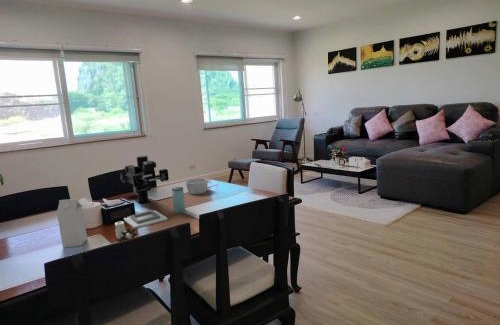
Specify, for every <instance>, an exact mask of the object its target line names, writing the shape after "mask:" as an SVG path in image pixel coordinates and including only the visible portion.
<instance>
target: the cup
mask: <svg viewBox="0 0 500 325" xmlns="http://www.w3.org/2000/svg"><path fill="white" fill-rule="evenodd" d="M171 194H172V202H173V212H174V213H175V214H181V213H184V212H186V202H185V195H184V187H183V186H176V187H172V188H171Z"/></svg>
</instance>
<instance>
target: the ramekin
mask: <svg viewBox="0 0 500 325" xmlns="http://www.w3.org/2000/svg"><path fill="white" fill-rule="evenodd" d="M185 185H186V189H187V192H188V194H191V195H200V194H204V193H206V192H207V191H208V179H207V178H194V179H189V180H187V181H185Z"/></svg>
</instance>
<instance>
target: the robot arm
mask: <svg viewBox="0 0 500 325" xmlns="http://www.w3.org/2000/svg"><path fill="white" fill-rule="evenodd" d="M136 163H137V164H136V166H135V165H133V164H130V165H125V166H124V169H123V170H121V172H120V175H119V176H120V177H119V178H120V181H121V182H123V183H130V184H131V185H132V186H133V187H132V190H133V193H135V194H137V200H135V201H136V203H137V204H140V205H141V204H145V203H149V202H151V201H152V200H150V199H149V194H148V192H149V191H151V189H152V183H155V181H157V180H158V181H159V180H160V182H162V183H163V182H168V181H169V170H168V169H167V168H164V169H163V168H162V169H159V170H158V174H155V172H156V171H155V170H154V169H155V168H157V163H156V161H154V160H149V158H148V155H139V156H136Z"/></svg>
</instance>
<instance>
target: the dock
mask: <svg viewBox="0 0 500 325" xmlns="http://www.w3.org/2000/svg"><path fill="white" fill-rule="evenodd" d="M126 217H127V218H126ZM126 217H123V222H124V223H127V224H128V225H129V226H130V227H131V229H134V230H135V229H138V228H142V227H147V226H149V225H153V224H157V223H162V222H164V221H168V217H166V216H165V215H164V214H162V213H160V212H158V211H157V210H147V211H143V212H139V213H136V214H132V215H129V216H126Z"/></svg>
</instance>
